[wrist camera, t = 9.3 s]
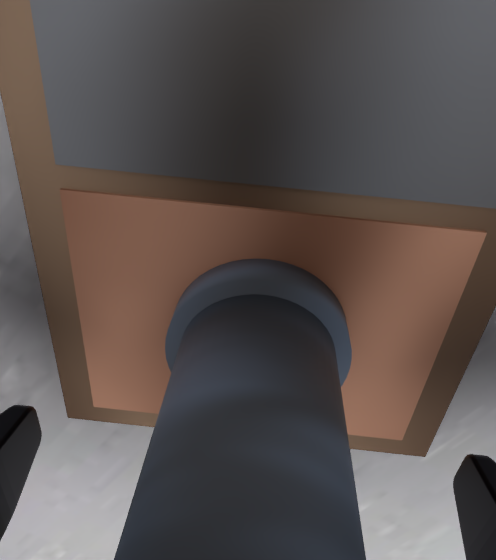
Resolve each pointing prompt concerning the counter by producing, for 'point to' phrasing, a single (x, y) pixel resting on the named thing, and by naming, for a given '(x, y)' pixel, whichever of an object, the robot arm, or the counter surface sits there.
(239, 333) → the pawn
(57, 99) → the game board
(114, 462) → the counter surface
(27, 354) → the counter surface
